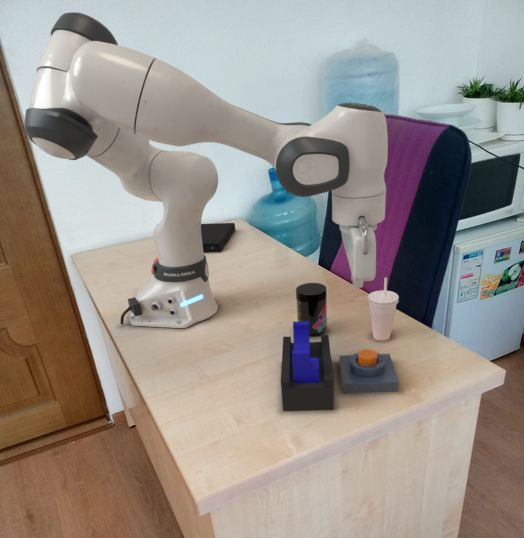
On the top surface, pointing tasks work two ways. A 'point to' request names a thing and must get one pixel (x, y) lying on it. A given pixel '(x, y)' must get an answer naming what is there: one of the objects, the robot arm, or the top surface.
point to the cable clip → (303, 355)
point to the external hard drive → (216, 236)
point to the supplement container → (312, 307)
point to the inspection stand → (307, 393)
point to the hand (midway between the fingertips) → (357, 284)
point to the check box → (367, 375)
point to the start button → (367, 357)
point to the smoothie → (382, 312)
